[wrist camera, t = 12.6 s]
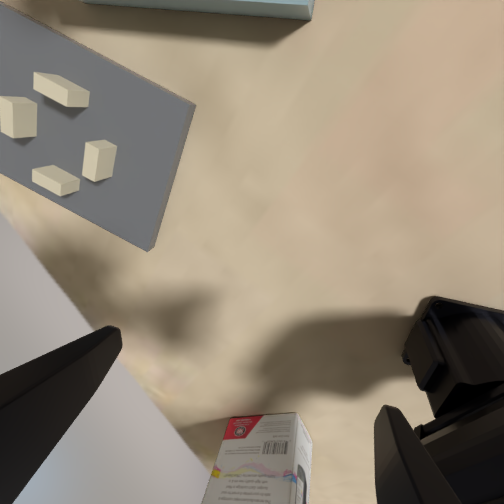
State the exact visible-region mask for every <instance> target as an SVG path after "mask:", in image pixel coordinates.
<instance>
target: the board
mask: <svg viewBox="0 0 504 504" xmlns="http://www.w3.org/2000/svg"><path fill="white" fill-rule="evenodd" d="M195 107H196V105H195V104H194V103H192V102H190V101H188V100H186V99H184V98H182V97H180V96H178V95H177V94H175V93H173V92H171V91H169V90H167V89H165V88H163V87H161V86H160V85H158V84H156V83H154V82H152V81H150V80H148V79H146V78H144V77H143V76H141V75H139V74H137V73H135V72H133V71H131V70H129V69H127V68H126V67H124V66H122V65H120V64H118V63H116V62H114V61H112V60H110V59H109V58H107V57H105V56H103V55H101V54H99V53H97V52H95V51H93V50H92V49H90V48H88V47H86V46H84V45H82V44H80V43H78V42H76V41H75V40H73V39H71V38H69V37H67V36H65V35H63V34H61V33H59V32H58V31H56V30H54V29H52V28H50V27H48V26H46V25H44V24H42V23H41V22H39V21H37V20H35V19H33V18H31V17H29V16H27V15H25V14H24V13H22V12H20V11H18V10H16V9H14V8H12V7H10V6H8V5H7V4H5V3H3V2H1V1H0V173H1V174H3V175H5V176H7V177H9V178H10V179H12V180H14V181H16V182H18V183H20V184H22V185H23V186H25V187H27V188H29V189H31V190H33V191H35V192H37V193H38V194H40V195H42V196H44V197H46V198H48V199H50V200H51V201H53V202H55V203H57V204H59V205H61V206H63V207H64V208H66V209H68V210H70V211H72V212H74V213H76V214H77V215H79V216H81V217H83V218H85V219H87V220H89V221H91V222H92V223H94V224H96V225H98V226H100V227H102V228H104V229H105V230H107V231H109V232H111V233H113V234H115V235H117V236H118V237H120V238H122V239H124V240H126V241H128V242H130V243H131V244H133V245H135V246H137V247H139V248H141V249H143V250H145V251H146V252H148V251H150V250H151V249H152V248H154V246H155V242H156V239H157V235H158V232H159V229H160V225H161V222H162V219H163V215H164V212H165V208H166V205H167V202H168V198H169V195H170V192H171V188H172V185H173V181H174V178H175V175H176V171H177V168H178V165H179V161H180V158H181V154H182V151H183V148H184V144H185V141H186V138H187V134H188V131H189V127H190V124H191V121H192V117H193V114H194V111H195Z"/></svg>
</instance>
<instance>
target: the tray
mask: <svg viewBox="0 0 504 504" xmlns="http://www.w3.org/2000/svg"><path fill="white" fill-rule="evenodd" d="M79 1H81V2H83V3H88V4H101V5H114V6H127V7H140V8H153V9H167V10H180V11H193V12H206V13H219V14H233V15H246V16H259V17H272V18H285V19H298V20H311V19H312V13H313V7H314V1H315V0H79Z"/></svg>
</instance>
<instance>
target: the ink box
mask: <svg viewBox="0 0 504 504" xmlns="http://www.w3.org/2000/svg"><path fill="white" fill-rule="evenodd" d="M311 457H312V440H311V438H310V435H309V434H308V432H307V430H306V428H305V426H304V424H303V422H302V420H301V418H300V416H299V414H297V413H287V414H275V415H263V416H253V417H241V418H231V419H230V420H229V423H228V426H227V429H226V432H225V435H224V438H223V441H222V444H221V447H220V450H219V453H218V456H217V459H216V462H215V465H214V468H213V471H212V474H211V476H210V480H209V482H208V485H207V488H206V491H205V494H204V497H203V501H202V503H201V504H309V492H310V475H311Z"/></svg>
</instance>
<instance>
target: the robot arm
mask: <svg viewBox="0 0 504 504" xmlns="http://www.w3.org/2000/svg"><path fill="white" fill-rule="evenodd" d="M437 303H441V304H440V305H436V304H437ZM121 349H122V337H121V331H120V329H119V328H118V327H114V326H110V325H108V326H105V327H103V328H101V329H99V330H96V331H94V332H92V333H90V334H88V335H86V336H83V337H81V338H79V339H77V340H75V341H73V342H70V343H68V344H66V345H64V346H62V347H60V348H57V349H55V350H53V351H51V352H49V353H47V354H45V355H42V356H40V357H38V358H36V359H33V360H31V361H29V362H27V363H25V364H23V365H20V366H18V367H16V368H14V369H12V370H10V371H7V372H5V373H3V374H1V375H0V504H12V503H13V502H14V501H15V499H16V498H17V497H18V495H19V494H20V493H21V491H22V490H23V489H24V487H25V486H26V485H27V483H28V482H29V480H30V479H31V478H32V476H33V475H34V474H35V472H36V471H37V470H38V468H39V467H40V466H41V464H42V463H43V462H44V460H45V459H46V458H47V456H48V455H49V454H50V452H51V451H52V450H53V448H54V447H55V446H56V444H57V443H58V442H59V440H60V439H61V438H62V436H63V435H64V434H65V432H66V431H67V429H68V428H69V427H70V425H71V424H72V423H73V422H74V420H75V419H76V418H77V416H78V415H79V413H80V412H81V411H82V409H83V408H84V407H85V405H86V404H87V403H88V401H89V400H90V399H91V397H92V396H93V395H94V393H95V392H96V390H97V389H98V387H99V386H100V384H101V382H102V381H103V379H104V378H105V376H106V374H107V373H108V371H109V369H110V367H111V366H112V364H113V363H114V361H115V359H116V358H117V356H118V355H119V353H120V351H121ZM407 358H409V359H407ZM402 360H403V362H404V363H405V364H407V365H411V367H412V370H413V373H414V376H415V379H416V383H417V386H418V387H419V389H420V390H421V391H425V392H426V394H427V397H428V400H429V403H430V406H431V409H432V412H433V415H434V417H435V418H436V419H434V420H432V421H431V422H429V423H427V424H425V425H422V424H421V425H419V426H417V427H415V428H414V430H413V429H412V427H411V426H410V424H409V423H408V421H407V420H406V418H405V417H404V415H403V414H402V412H401V411H400V410H399V409H398V408H396V407H393V406H389V405H383V407H382V408H381V410H380V412H379V414H378V416H377V418H376V420H375V423H374V457H375V487H376V497H377V504H504V311H502V310H497V309H493V308H488V307H484V306H479V305H475V304H470V303H466V302H461V301H457V300H452V299H448V298H443V297H434V298H432V299H431V300H430V301H429V303H428V305H427V307H426V309H425V311H424V313H423V315H422V317H421V319H420V320H418V321H417V322H416V323H415V325H414V327H413V329H412V331H411V333H410V335H409V337H408V339H407V341H406V343H405V350H404V352H403V354H402Z"/></svg>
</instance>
